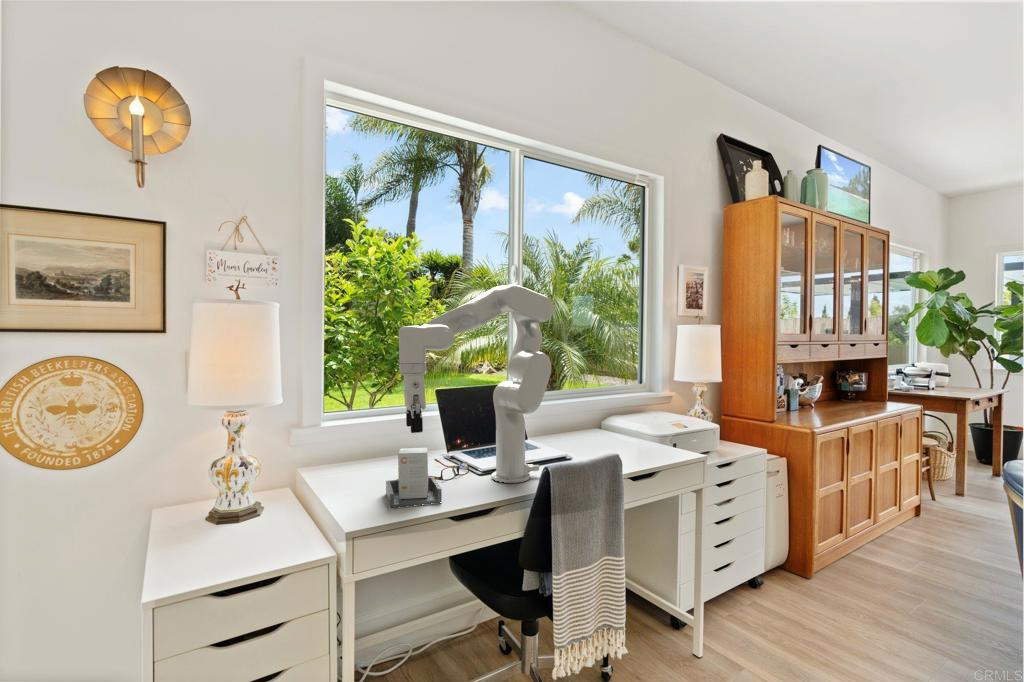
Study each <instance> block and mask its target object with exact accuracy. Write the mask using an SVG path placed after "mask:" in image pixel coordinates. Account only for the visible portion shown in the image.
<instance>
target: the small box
mask: <svg viewBox="0 0 1024 682" xmlns="http://www.w3.org/2000/svg"><path fill="white" fill-rule="evenodd" d="M397 458H398V461H397V462H398V463H397V464H398V469H397V472H398V478H397V479H399V499H412V498H427V496H428V477H429V449H428V447H412V448H411V447H408V448H407V447H406V448H400V449H399V451H398V453H397Z"/></svg>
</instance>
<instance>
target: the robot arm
mask: <svg viewBox="0 0 1024 682" xmlns="http://www.w3.org/2000/svg"><path fill="white" fill-rule="evenodd" d="M554 312H555V307H554V303H553V301H552V300H551V299H550V298H549V297H548V296H546V295H544V294H542V293H539V292H537V291H533V290H531V289H529V288H527V287H523V286H521V285H517V284H508V285H498V286H495V287H492V288H491V289H489V290H487V291H486V292H483V293H482V294H481V295H479V296H477V297H475V298H473V299H472V300H470V301H468V302H466V303H464V304H462V305H460V306H456V307H455V308H454V309H452V310H449V311H447V312H444V313H442V314H440V315H438V316H436V317H434V318H432V319H430V320H429V321H427V322H425V323H423V324H422V325H403V326H401V327H400V328H399V329H398V354H399V355H398V359H399V364H398V365H399V370H398V371H399V375H400V376H403V397H404V398H403V400H404V407H405V408H406V412H405V418H406V421H405V422H406V424H405V425H406V426H407V427H410V433H411V434H417V433H419V434H420V433H423V429H424V427H423V423H424V422H423V413H422V410H426V409H427V404H426V403H427V402H426V389H425V387H426V386H425V378H424V375H427V351H436V352H437V351H445V350H448V349H450V348H451V347H452V346H453V344H454V342H455V335H457V334H461V333H465V332H471V331H473V330H476V329H480V328H481V327H484V326H485V325H486V324H487V323H490V322H491V321H492V320H494V319H495V318H498V317H499V316H501V315H503V314H504V313H511V314H510V315H511V317H512V319H513V321H514V323H515V325H516V330H517V336H516V340H515V343H514V346H513V348H512V351H511V354H510V357H509V360H508V364H507V371H508V374H509V376H511V377H513V378H514V379H518V380H521V382H520V381H514V380H513V381H512V380H507V381H501V382H500V383H499V384H497V385H496V387H495V388H494V389H493V395H492V398H493V399H492V400H493V406H494V413H495V471H494V472H492V473H491V475H490V476H491V478H490V479H491V480H493V479H494V480H495V481H494V480H493V481H494V482H497V481H499V482H498V483H502V482H504V483H503V484H517V483H518V484H519V483H523V482H527V481H529V480H530V478H531V475H530V473H531V472H538V471H539V472H540V465H539V464H533V463H531V464H528V463H526V421H525V416H524V414H525V415H530V414H533V413H535V412H536V411H537V410H538V409H539V408H540V407H541V404H542V402H543V399H544V396H545V393H546V391H547V387H548V384H549V381H550V377H551V374H552V361H551V358H550V357H549V356H548V355H547V354H546V353H545V352H542V351H540V350H541V347H542V343H543V333H542V330H541V327H540V323H544V322H547V321H549V320H550V319H551V318H552V317H553V315H554Z"/></svg>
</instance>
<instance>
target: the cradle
mask: <svg viewBox="0 0 1024 682" xmlns="http://www.w3.org/2000/svg"><path fill="white" fill-rule="evenodd" d="M442 492H443V491H442V487H441V485H440V484H439V482H438V481H437V480H436V478H435V477H434V476H428V496H427V498H412V499H399V478H396V479H393V480H392V479H389V480H385V495H386V500H387V499H388V500H387V502H388V507H389V506H390V507H389V509H390V508H394V509H400V508H399V507H403V508H407V507H406V506H412V507H415V506H414V505H421V506H423V505H422V504H431V503H440V502H442V499H443V498H442ZM440 504H441V503H440ZM431 505H432V504H431Z"/></svg>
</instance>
